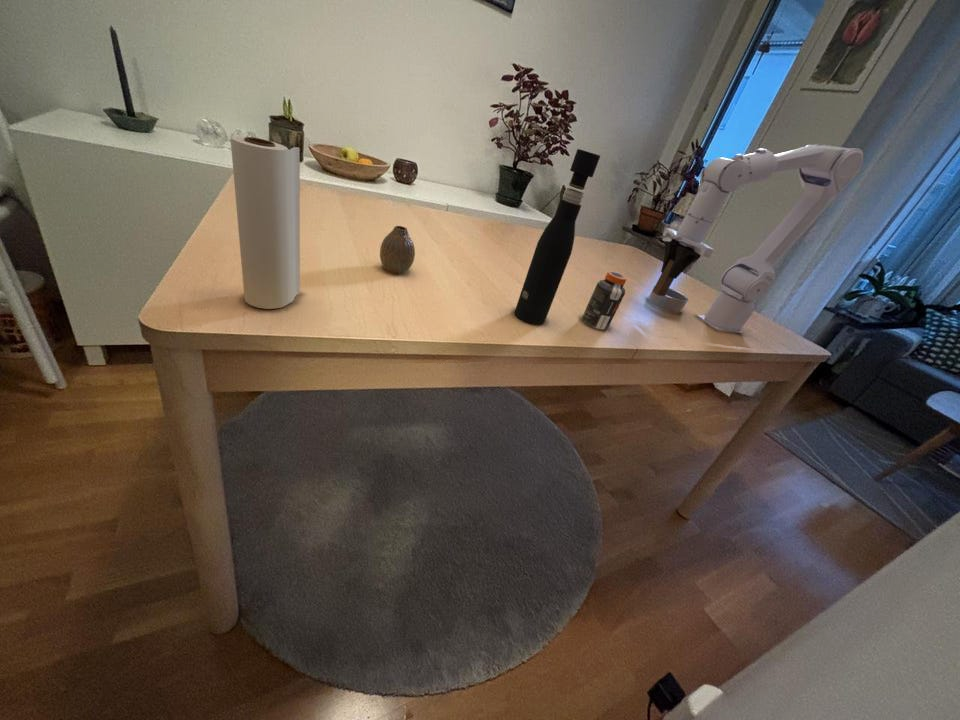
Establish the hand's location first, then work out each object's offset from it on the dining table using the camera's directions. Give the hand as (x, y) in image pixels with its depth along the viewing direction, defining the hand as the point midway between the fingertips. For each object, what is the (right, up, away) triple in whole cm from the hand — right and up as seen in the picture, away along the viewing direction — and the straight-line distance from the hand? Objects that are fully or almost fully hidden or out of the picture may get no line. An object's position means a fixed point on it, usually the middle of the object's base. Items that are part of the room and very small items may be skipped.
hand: (668, 275), depth 91 cm
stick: (-1, -4, +3) cm, 5 cm away
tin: (+6, -5, +14) cm, 17 cm away
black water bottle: (-35, -12, -15) cm, 40 cm away
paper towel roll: (-77, -12, -34) cm, 85 cm away
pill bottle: (-21, -13, -9) cm, 26 cm away
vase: (-63, -2, -12) cm, 64 cm away
